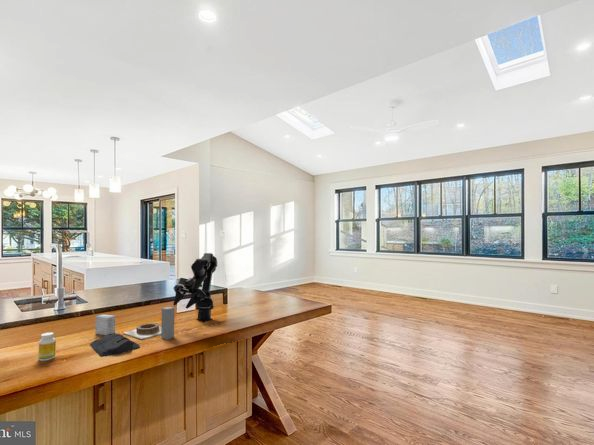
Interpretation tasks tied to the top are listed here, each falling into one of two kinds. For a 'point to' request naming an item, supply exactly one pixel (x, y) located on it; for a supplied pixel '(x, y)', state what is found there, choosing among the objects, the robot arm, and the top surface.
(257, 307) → the top surface
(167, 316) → the tall square grey column
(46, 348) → the supplement bottle
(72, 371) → the top surface
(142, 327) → the ring holder
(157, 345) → the top surface
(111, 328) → the medicine box
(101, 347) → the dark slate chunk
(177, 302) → the robot arm
